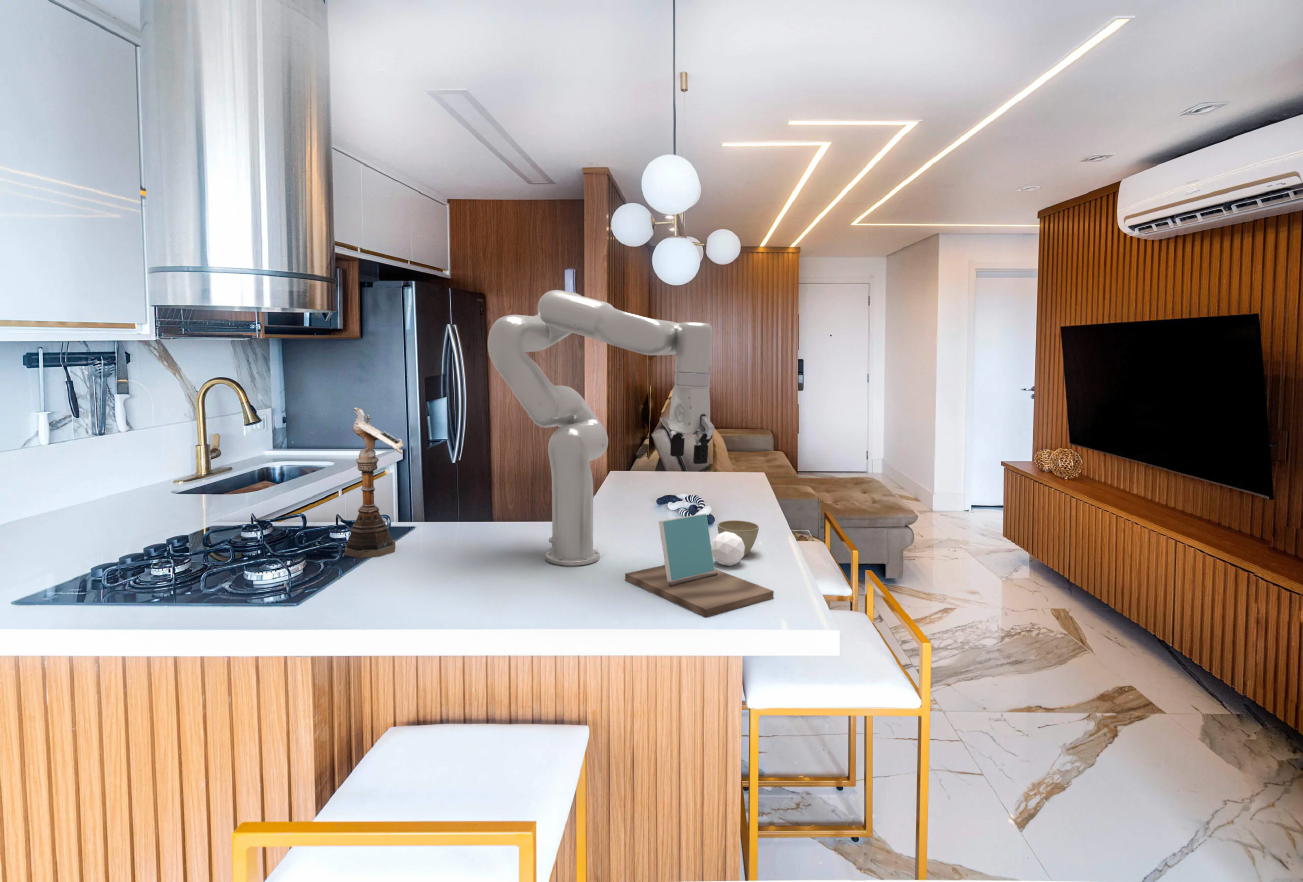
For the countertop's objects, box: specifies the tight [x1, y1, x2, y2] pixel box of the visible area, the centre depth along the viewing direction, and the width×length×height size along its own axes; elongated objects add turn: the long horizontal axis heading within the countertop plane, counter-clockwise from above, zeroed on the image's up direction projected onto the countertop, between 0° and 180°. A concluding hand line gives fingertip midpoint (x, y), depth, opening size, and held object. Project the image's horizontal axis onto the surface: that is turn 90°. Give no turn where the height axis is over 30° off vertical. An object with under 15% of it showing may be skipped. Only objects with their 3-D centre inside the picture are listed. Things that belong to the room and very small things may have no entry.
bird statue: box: [344, 407, 404, 559], centre depth 173 cm, size 17×13×35 cm
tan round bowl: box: [717, 519, 760, 557], centre depth 175 cm, size 10×10×7 cm
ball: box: [711, 531, 745, 567], centre depth 167 cm, size 8×8×8 cm
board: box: [624, 564, 775, 618], centre depth 150 cm, size 26×18×2 cm
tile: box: [658, 513, 716, 582], centre depth 151 cm, size 12×12×1 cm
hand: (688, 459), depth 157 cm, fingers open, 9 cm apart
